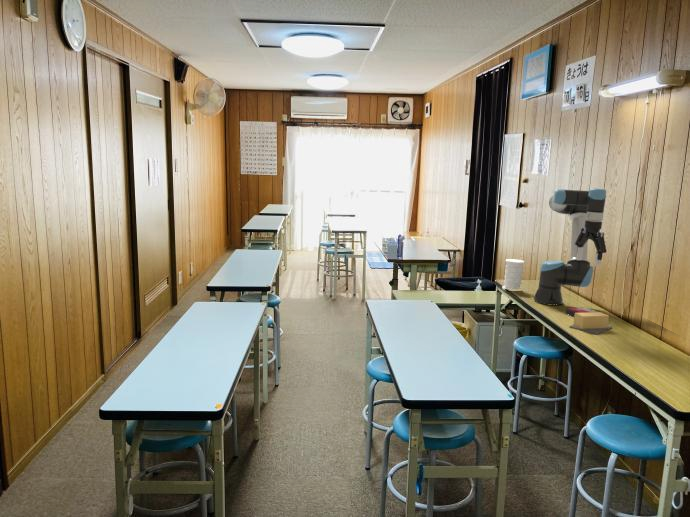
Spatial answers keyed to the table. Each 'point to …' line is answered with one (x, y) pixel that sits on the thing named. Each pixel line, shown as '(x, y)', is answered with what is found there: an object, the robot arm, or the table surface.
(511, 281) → the decorative container
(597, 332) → the charcoal mat
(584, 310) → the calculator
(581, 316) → the ochre block
